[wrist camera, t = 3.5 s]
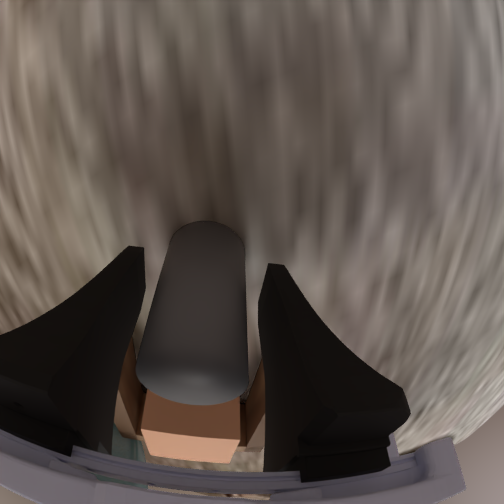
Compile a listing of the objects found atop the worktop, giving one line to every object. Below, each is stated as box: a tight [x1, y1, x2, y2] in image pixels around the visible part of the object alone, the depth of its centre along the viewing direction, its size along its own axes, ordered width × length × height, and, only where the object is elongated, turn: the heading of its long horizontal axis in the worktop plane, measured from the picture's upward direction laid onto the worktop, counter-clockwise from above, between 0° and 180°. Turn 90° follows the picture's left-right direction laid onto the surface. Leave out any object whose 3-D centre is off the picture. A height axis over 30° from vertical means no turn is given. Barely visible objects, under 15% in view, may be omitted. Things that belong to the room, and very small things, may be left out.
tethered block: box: [135, 221, 249, 463], centre depth 14 cm, size 5×14×6 cm, turn 170°
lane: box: [114, 337, 265, 452], centre depth 17 cm, size 10×8×4 cm
